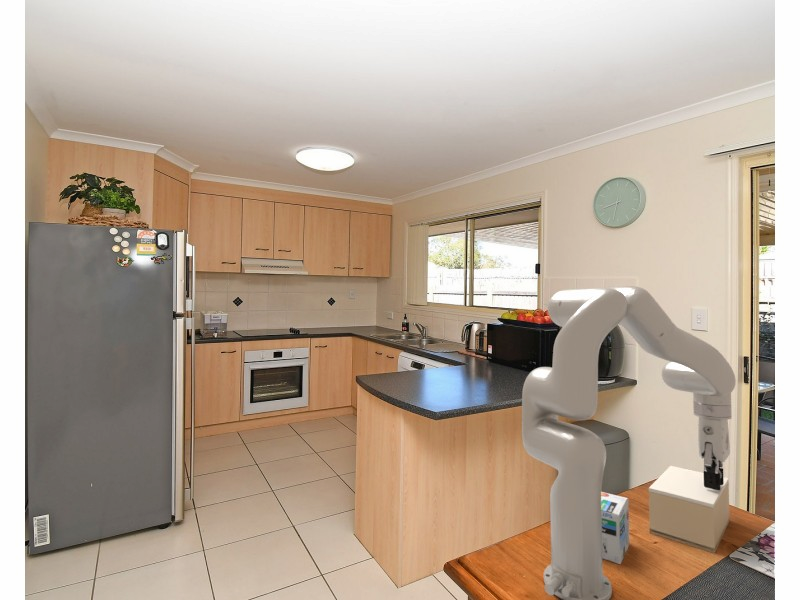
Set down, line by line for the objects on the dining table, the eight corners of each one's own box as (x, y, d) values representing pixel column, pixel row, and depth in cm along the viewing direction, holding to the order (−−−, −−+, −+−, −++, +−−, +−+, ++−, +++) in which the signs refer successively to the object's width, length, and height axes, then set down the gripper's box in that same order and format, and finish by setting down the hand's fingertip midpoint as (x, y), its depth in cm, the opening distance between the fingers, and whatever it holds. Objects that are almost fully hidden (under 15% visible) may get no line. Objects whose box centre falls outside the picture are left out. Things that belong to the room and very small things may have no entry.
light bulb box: (621, 565, 94) (620, 515, 94) (587, 555, 98) (587, 506, 98) (630, 543, 102) (629, 497, 102) (599, 534, 106) (598, 490, 106)
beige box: (714, 553, 98) (713, 508, 98) (649, 532, 107) (648, 491, 107) (729, 521, 112) (728, 481, 112) (671, 505, 121) (670, 468, 121)
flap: (713, 508, 98) (713, 481, 98) (648, 491, 107) (648, 466, 107) (729, 481, 112) (728, 458, 112) (670, 468, 121) (670, 446, 121)
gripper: (725, 419, 98) (727, 501, 97) (736, 406, 109) (738, 480, 109) (685, 413, 103) (687, 492, 103) (700, 402, 115) (702, 472, 114)
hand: (713, 485), depth 106 cm, fingers closed on flap, 3 cm apart
